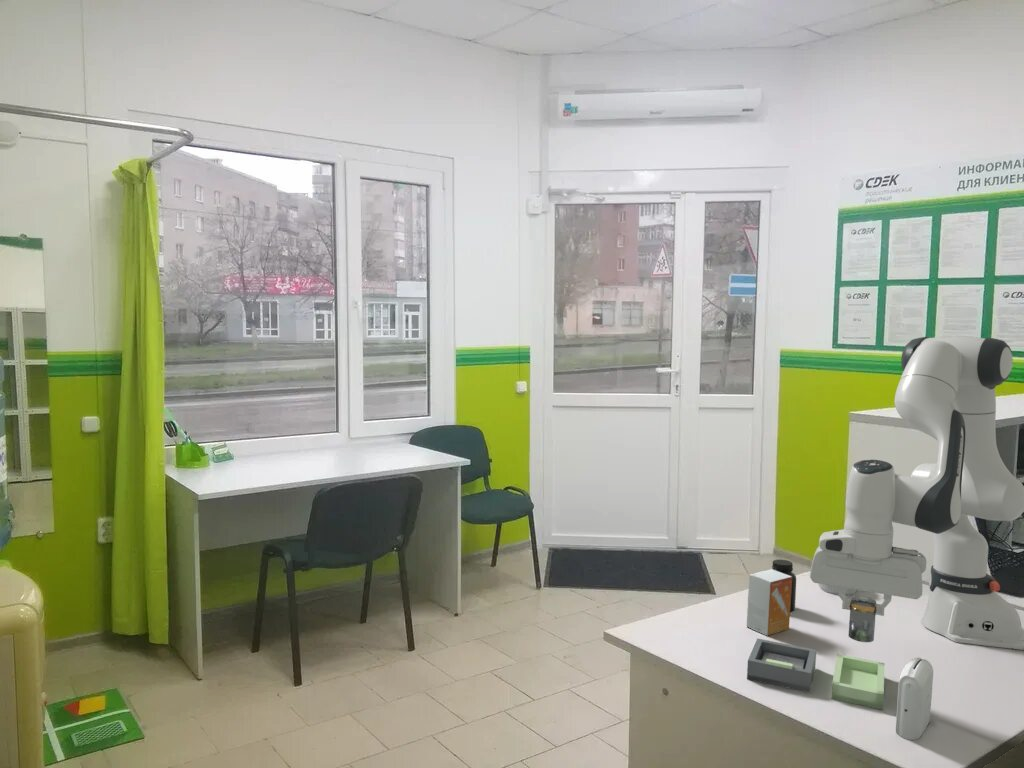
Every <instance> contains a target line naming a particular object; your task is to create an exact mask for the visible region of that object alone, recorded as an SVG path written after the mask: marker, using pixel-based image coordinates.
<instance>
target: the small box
mask: <svg viewBox="0 0 1024 768" xmlns="http://www.w3.org/2000/svg"><path fill="white" fill-rule="evenodd" d="M791 588H792V576H789V575H786V574H784V573H781V572H778V571H775V570H773V569H772V568H770V569H767V570H766V569H765V570H761V571H758V572H754V573H751V574H749V575H748V593H747V596H748V597H747V611H746V626H747V627H746V628H748V627H749V628H748V629H750V628H751V629H750V630H752V629H753V630H752V631H754V630H756V631H755V632H757V631H758V632H757V633H759V632H760V633H759V634H761V633H762V635H764V636H766V635H767V636H766V637H768V635H769V636H771V635H775V634H777V633H779V632H780V631H781V632H783V630H784V631H787V629H788V630H789V628H790V618H791V617H790V616H791V612H790V604H791Z"/></svg>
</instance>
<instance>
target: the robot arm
mask: <svg viewBox="0 0 1024 768" xmlns="http://www.w3.org/2000/svg"><path fill="white" fill-rule="evenodd" d="M900 361H901V363H900V365H901V368H902V369H901V370H902V374H901V377H900V379H899V382H898V385H897V387H896V390H895V395H894V407H895V410H896V411H897V412H896V413H897V414H898V415H899V417H901V419H902V420H903V421H904V422H905V423H906V424H908V425H909V426H910V427H912V428H914V429H915V430H917V431H919V432H921V433H924V434H926V435H927V436H930V437H931V438H933V439H935V440H936V441H937V442H938V451H937V458H936V459H937V460H936V462H929V463H921V464H919V465H917V466H916V467H915V468H914V469H913V470H912V471H911V474H910V476H908V475H902V474H898V473H896V472H895V468H894V466H893V465H892V464H891V463H890V462H888V461H885V460H879V459H863V460H859V461H857V462H855V463H853V464H852V466H851V469H850V472H849V475H848V480H847V486H846V491H845V492H846V494H845V508H846V518H845V520H844V524H843V528H842V529H837V530H831V531H830V530H829V531H824V532H822V533H821V535H820V537H819V540H818V547H816V550H815V552H814V554H813V558H812V562H811V567H810V573H809V578H810V579H811V581H812V583H815V584H818V583H819V584H825V585H831V586H837V587H838V588H837V592H838V594H839V595H838V596H839V598H840V600H841V601H842V606H841V609H843V610H848V611H850V604H851V598H847V595H845V594H844V592H845V588H849V589H856V590H857V591H862V592H869V593H875V594H879V595H880V594H882V595H883V601H882V602H881V603H876V604H877V605H876V616H881V617H885V608H886V607H887V606H888V605H889V604H890V603H891V602H892V597H893V596H894V597H901V598H905V599H912V600H918V599H919V598H922V596H923V577H922V576H923V575H922V574H923V573H925V571H926V569H927V559H926V556H925V555H924V554H922V553H921V552H919V551H918V550H917V549H908V548H903V547H898V546H893V541H894V540H893V539H894V526H893V523H896V524H900V525H905V526H910V527H915V528H918V529H920V530H924V531H927V532H930V533H933V563H932V566H931V567H930V571H929V579H928V580H929V581H928V583H929V584H928V587H929V595H928V596H929V597H928V600H927V604H926V608H925V611H924V613H923V616H922V618H921V621H920V622H921V624H922V625H923V626H924V627H925V628H927V629H928V630H930V631H932V632H934V633H937V634H939V635H942V636H944V637H946V638H947V639H949V640H951V641H952V642H954V643H955V642H956V643H959V644H960V643H961V644H971V645H978V646H986V647H987V646H988V647H997V648H1005V649H1012V648H1013V650H1014V649H1015V650H1021V651H1023V650H1024V628H1023V627H1022V620H1021V618H1020V615H1019V613H1018V611H1017V609H1016V608H1015V607H1014V606H1013V605H1011V604H1010V603H1009V602H1008V601H1007V600H1006V599H1005V598H1003V597H1002V596H1001V595H1000V594H998V593H997V592H999V591H1000V590H1001V586H1000V584H999V582H998V581H997V580H996V578H995V577H994V576H992V574H988V573H987V570H988V569H987V568H988V560H989V559H988V557H989V545H988V541H987V539H986V538H985V536H984V535H983V534H982V533H980V532H979V531H978V530H977V529H976V528H975V527H974V526H973V525H972V524H971V522H970V519H969V517H974V518H978V519H983V520H985V521H996V522H997V521H998V522H1012V521H1015V520H1017V519H1018V518H1020V516H1022V515H1023V513H1024V485H1023V483H1022V482H1021V481H1020V480H1019V479H1017V478H1016V477H1015V476H1014V475H1013V474H1012V473H1011V472H1010V470H1009V469H1008V468H1007V466H1006V465H1005V463H1004V462H1003V459H1002V458H1001V455H1000V452H999V449H998V446H997V437H996V436H997V434H996V433H997V432H996V416H997V415H996V414H997V413H996V412H997V409H996V408H997V407H996V406H997V402H996V401H997V400H996V399H997V398H996V397H997V396H996V387H997V386H1000V385H1002V384H1004V382H1005V381H1007V380H1008V379H1009V377H1010V375H1011V372H1012V369H1013V365H1014V364H1013V363H1014V362H1013V361H1014V359H1013V351H1012V349H1011V347H1010V345H1008V343H1007V342H1006V341H1004V340H1003V339H998V338H995V337H994V338H993V337H986V338H983V337H975V336H966V335H955V336H936V337H929V336H921V337H917V338H913V339H911V340H910V341H909V342H908V343H907V344H905V346H904V348H903V350H902V353H901V360H900ZM968 516H969V517H968Z"/></svg>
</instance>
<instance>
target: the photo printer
mask: <svg viewBox="0 0 1024 768" xmlns="http://www.w3.org/2000/svg"><path fill="white" fill-rule="evenodd" d="M933 681H934V668H933V665H932V664H931V662H930V661H929V660H927V659H923V658H921V657H915V658H912V659H910V660H909V661H908V662H907V663H906V664H905V666H903V668H902V671H901V673H900V676H899V680H898V689H897V691H898V692H897V701H896V702H897V705H896V717H895V719H896V720H895V733H896V734H897V735H898V736H899V737H900V738H903V739H904V740H905V739H906V740H909V741H915V740H919V739H920V738H921V737H922V735H923V734H924V732H925V730H926V729H927V727H928V724H929V722H930V718H931V712H932V710H931V709H932V696H933V684H934V683H933Z"/></svg>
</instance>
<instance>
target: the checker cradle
mask: <svg viewBox="0 0 1024 768" xmlns="http://www.w3.org/2000/svg"><path fill="white" fill-rule="evenodd" d="M751 649H752V650H751V652H750V655H749V657H748V659H747V670H746V671H747V673H746V679H747V680H751V681H755V682H758V683H759V682H760V683H764V684H767V685H773V686H777V687H781V688H787V689H792V690H795V691H801V692H805V693H808V694H809V693H810V692H811V689H812V685H813V680H814V675H815V672H814V671H815V670H816V661H817V649H814V648H808V647H803V646H797V645H793V644H789V643H782V642H777V641H772V640H767V639H762V638H756V641H755V643H754V645H753V647H752V648H751ZM765 652H768V653H773V654H778V655H783V656H788V657H793V658H798V659H803V660H805V664H804V668H803V669H801V668H796V667H793V664H791V663H786V662H781V661H776V660H771V659H767V660H766V661H762V658H763V656H764V653H765Z"/></svg>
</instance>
